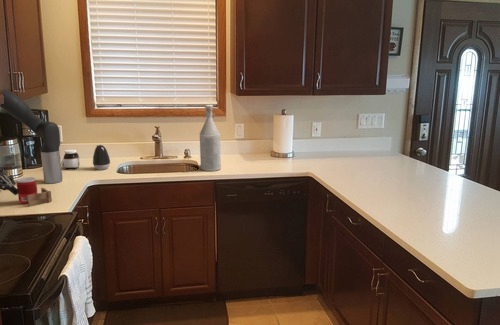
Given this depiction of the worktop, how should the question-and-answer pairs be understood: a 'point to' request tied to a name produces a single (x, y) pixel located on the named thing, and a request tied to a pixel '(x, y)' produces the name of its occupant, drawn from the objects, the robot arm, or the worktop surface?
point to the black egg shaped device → (101, 158)
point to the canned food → (26, 188)
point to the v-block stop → (39, 197)
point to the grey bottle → (210, 143)
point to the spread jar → (70, 159)
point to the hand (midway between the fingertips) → (17, 193)
